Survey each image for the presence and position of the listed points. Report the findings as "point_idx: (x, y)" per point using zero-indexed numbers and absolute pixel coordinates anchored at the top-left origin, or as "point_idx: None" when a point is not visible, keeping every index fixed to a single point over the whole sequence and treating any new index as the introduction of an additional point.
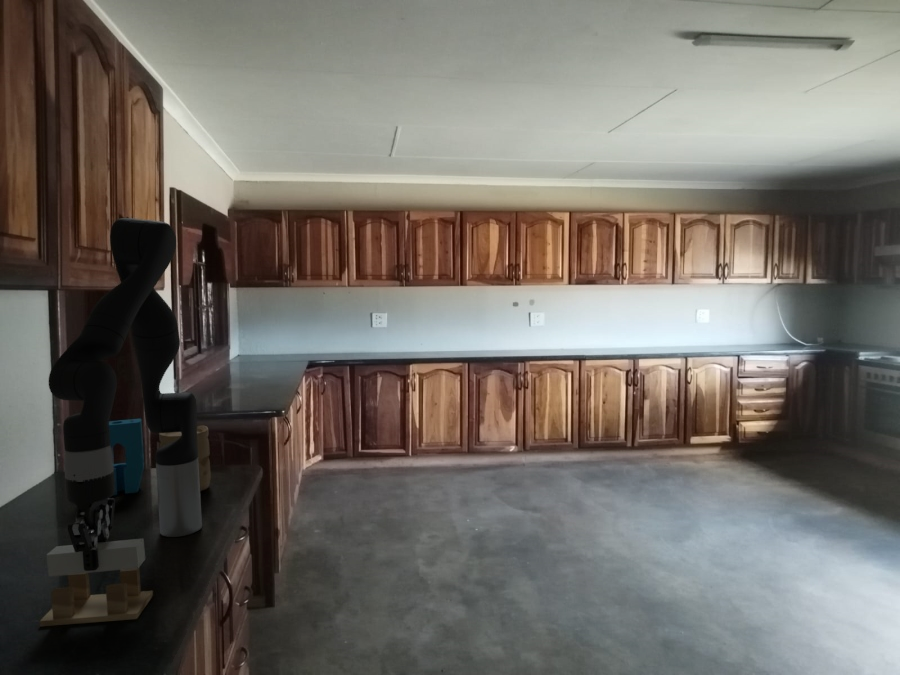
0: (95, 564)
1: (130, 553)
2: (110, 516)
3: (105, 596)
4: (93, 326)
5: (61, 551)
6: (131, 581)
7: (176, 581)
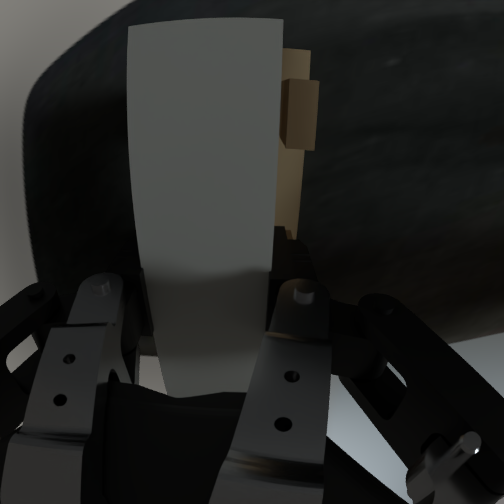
0: None
1: None
2: (386, 433)
3: (284, 182)
4: None
5: (164, 105)
6: None
7: None
